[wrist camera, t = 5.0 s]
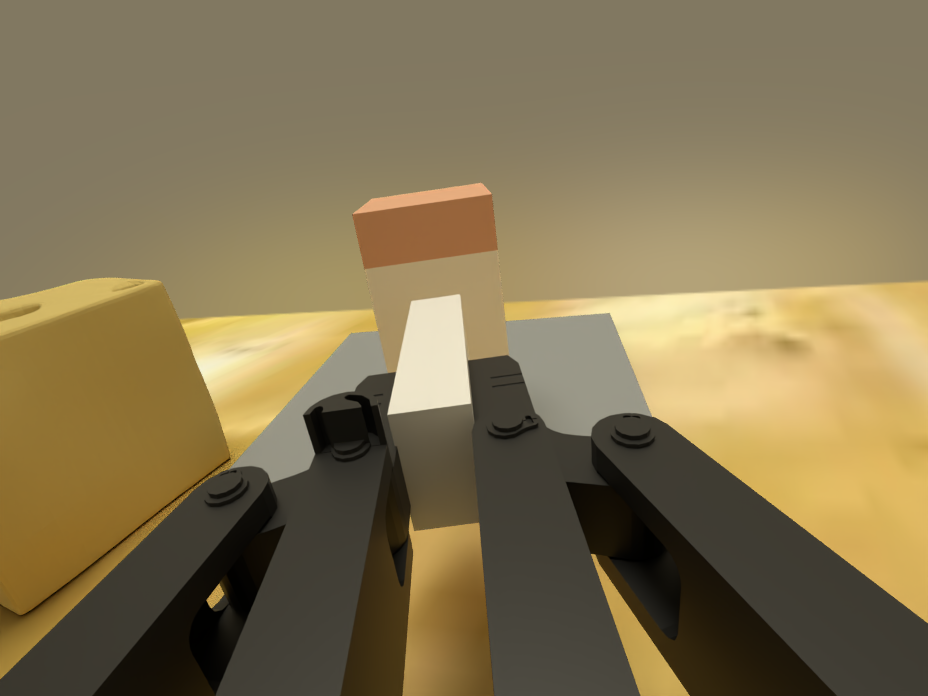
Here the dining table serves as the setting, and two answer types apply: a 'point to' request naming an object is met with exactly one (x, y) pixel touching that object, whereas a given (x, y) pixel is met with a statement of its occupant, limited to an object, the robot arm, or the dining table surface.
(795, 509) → the dining table surface
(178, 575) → the robot arm
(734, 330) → the dining table surface
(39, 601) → the cheese
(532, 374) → the slate mat
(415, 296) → the tall block
